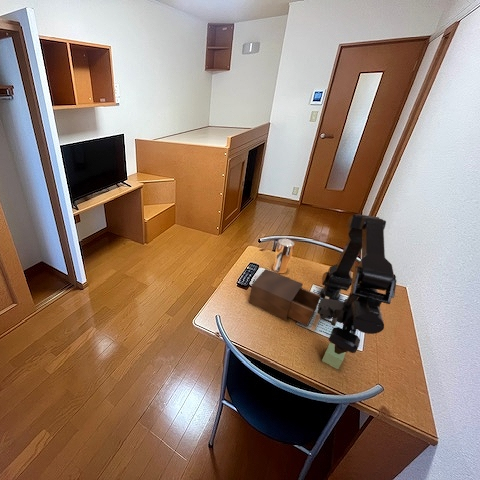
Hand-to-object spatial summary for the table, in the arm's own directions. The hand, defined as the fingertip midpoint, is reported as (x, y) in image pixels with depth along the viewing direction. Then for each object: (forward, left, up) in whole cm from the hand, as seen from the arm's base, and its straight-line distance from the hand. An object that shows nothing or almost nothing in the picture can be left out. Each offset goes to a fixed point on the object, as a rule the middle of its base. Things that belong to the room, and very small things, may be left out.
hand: (340, 342), depth 78 cm
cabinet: (-13, -24, -8) cm, 29 cm away
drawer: (-13, -12, -8) cm, 19 cm away
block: (0, 0, -8) cm, 9 cm away
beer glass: (-36, -30, -9) cm, 48 cm away
